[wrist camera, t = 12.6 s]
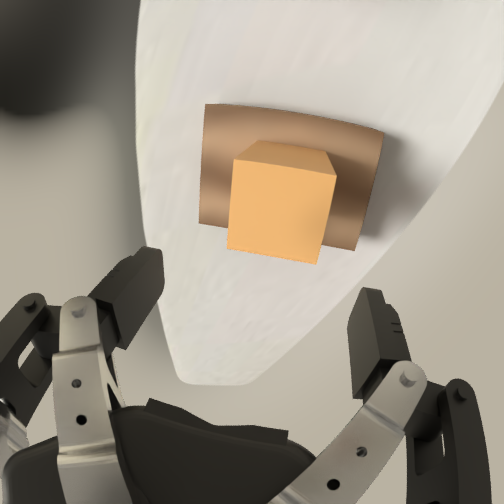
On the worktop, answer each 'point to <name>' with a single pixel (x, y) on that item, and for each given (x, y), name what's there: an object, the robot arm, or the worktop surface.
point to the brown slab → (297, 134)
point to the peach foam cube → (280, 201)
